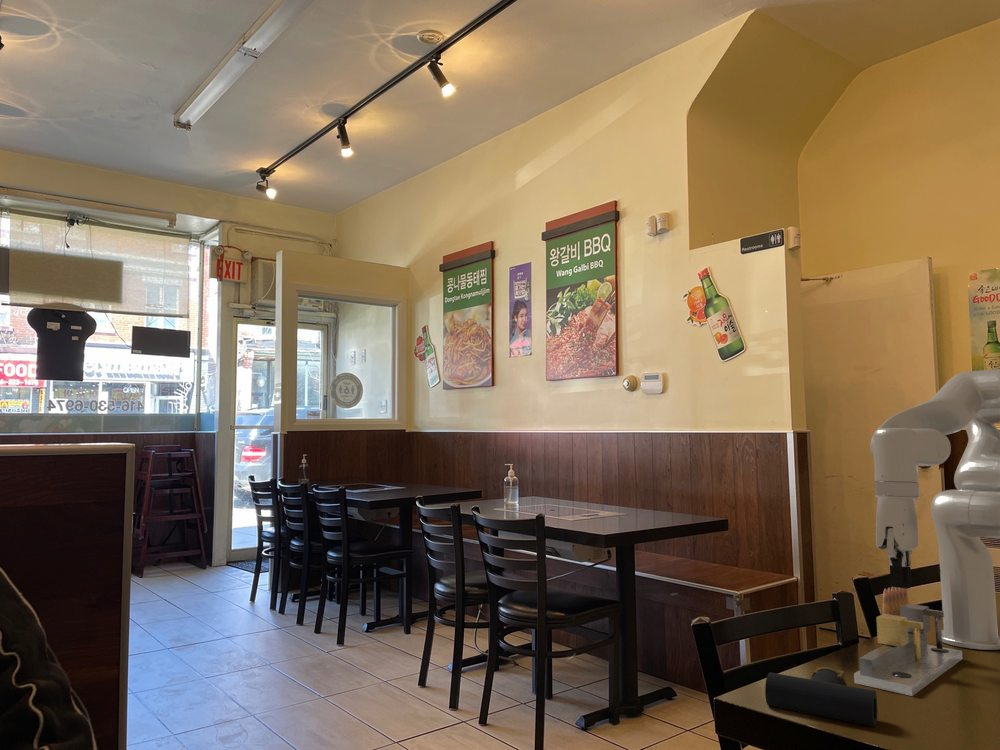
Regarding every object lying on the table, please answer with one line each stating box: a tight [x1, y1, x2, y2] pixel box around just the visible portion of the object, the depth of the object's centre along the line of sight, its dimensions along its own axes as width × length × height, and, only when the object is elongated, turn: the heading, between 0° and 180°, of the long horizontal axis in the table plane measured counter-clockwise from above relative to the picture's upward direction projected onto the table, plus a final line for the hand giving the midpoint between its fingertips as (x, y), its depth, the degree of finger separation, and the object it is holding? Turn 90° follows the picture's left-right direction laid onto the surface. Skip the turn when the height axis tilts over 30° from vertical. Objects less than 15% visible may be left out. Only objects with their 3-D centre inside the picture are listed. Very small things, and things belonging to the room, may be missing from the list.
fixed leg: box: [900, 603, 944, 649], centre depth 139 cm, size 4×7×7 cm, turn 44°
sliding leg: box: [876, 614, 923, 663], centre depth 130 cm, size 4×7×7 cm, turn 44°
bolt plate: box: [853, 632, 964, 697], centre depth 130 cm, size 30×9×4 cm, turn 134°
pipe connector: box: [764, 666, 878, 728], centre depth 111 cm, size 12×5×15 cm
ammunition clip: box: [881, 586, 910, 646], centre depth 147 cm, size 11×2×12 cm, turn 129°
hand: (901, 587), depth 136 cm, fingers closed
